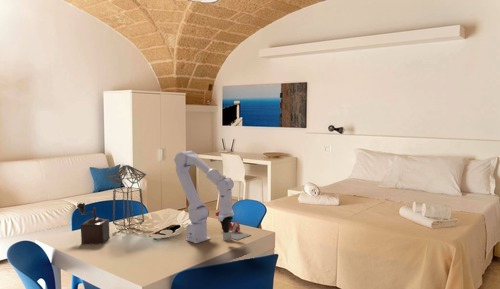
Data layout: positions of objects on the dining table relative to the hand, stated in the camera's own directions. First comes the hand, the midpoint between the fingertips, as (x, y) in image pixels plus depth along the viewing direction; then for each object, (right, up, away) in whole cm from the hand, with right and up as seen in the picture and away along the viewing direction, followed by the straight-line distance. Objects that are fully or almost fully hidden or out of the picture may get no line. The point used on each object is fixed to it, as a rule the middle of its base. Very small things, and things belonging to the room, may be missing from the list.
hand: (226, 232), depth 190 cm
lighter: (+2, -5, +6) cm, 8 cm away
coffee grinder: (-67, -6, +7) cm, 67 cm away
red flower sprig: (0, -4, +22) cm, 22 cm away
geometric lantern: (-53, -4, +23) cm, 58 cm away
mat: (+5, -5, +12) cm, 14 cm away
